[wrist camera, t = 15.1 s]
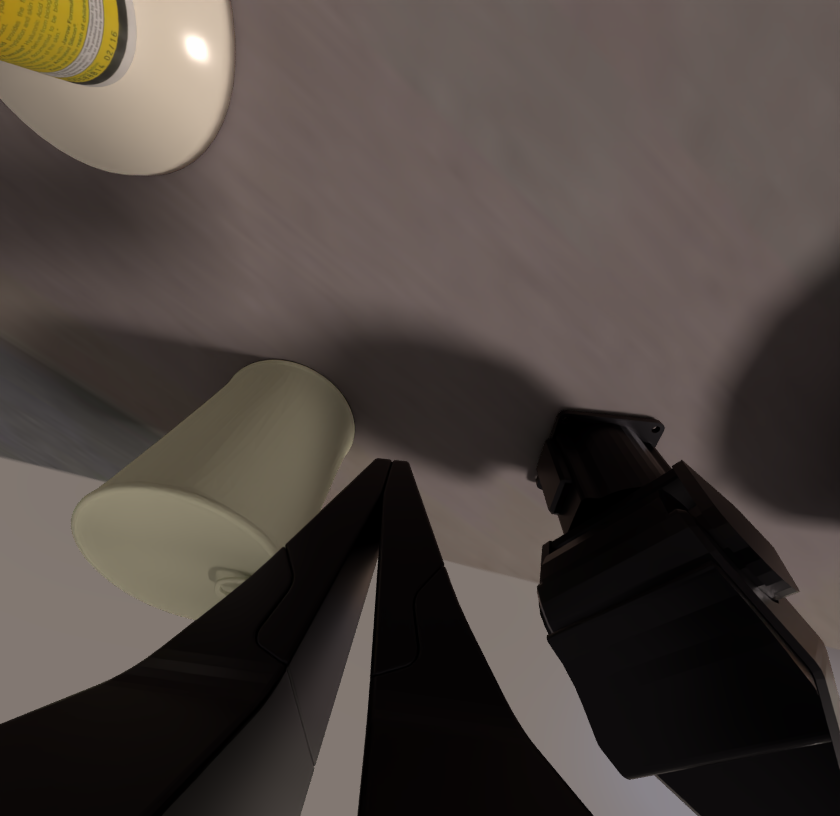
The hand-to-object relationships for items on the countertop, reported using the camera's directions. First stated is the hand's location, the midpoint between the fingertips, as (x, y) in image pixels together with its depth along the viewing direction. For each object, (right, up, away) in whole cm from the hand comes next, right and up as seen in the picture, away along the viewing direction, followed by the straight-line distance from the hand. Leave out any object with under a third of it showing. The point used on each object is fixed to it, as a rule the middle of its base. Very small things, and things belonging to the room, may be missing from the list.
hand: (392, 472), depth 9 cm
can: (-8, +1, +16) cm, 18 cm away
